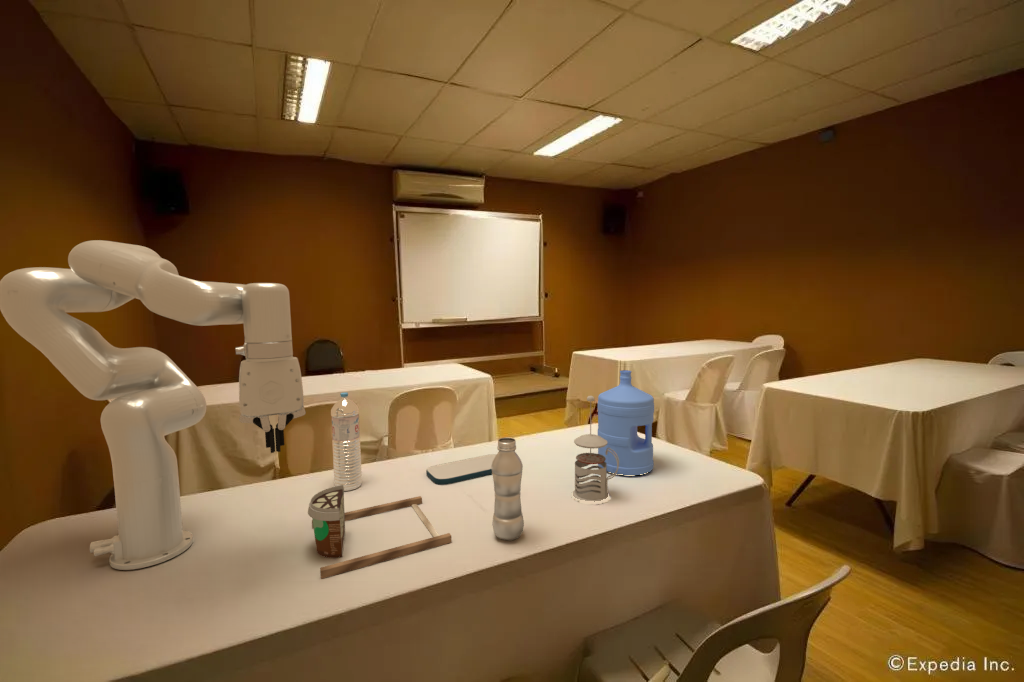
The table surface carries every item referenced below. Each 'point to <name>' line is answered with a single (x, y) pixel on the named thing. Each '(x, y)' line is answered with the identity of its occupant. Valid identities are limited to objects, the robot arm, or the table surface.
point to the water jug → (626, 427)
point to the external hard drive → (461, 470)
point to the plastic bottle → (507, 491)
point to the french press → (593, 488)
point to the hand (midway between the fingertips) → (275, 450)
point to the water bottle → (346, 444)
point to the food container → (328, 521)
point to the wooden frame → (392, 552)
